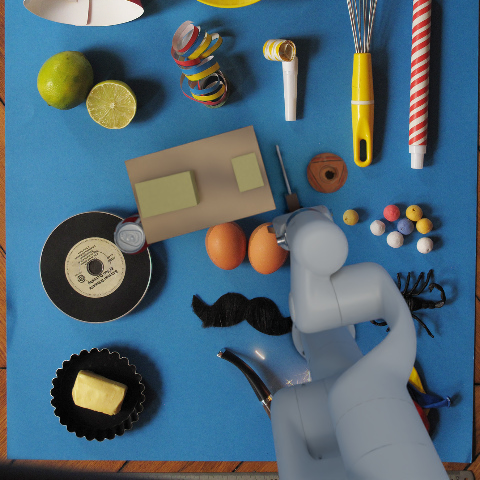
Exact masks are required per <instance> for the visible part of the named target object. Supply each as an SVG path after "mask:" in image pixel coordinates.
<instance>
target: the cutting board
mask: <svg viewBox="0 0 480 480" xmlns="http://www.w3.org/2000/svg"><path fill="white" fill-rule="evenodd" d="M253 152H255V155H256V158H257V162H258V165H259V169H260V172H261V176H262V179H263V183H264V186H262V187H258V188H254V189H251V190H247V191H244V192H240V191H239V187H238V183H237V180H236V176H235V173H234V169H233V166H232V162H231V159H232V158H236V157H239V156H243V155H246V154H250V153H253ZM124 166H125V169H126V172H127V175H128V176H127V177H128V179H129V182H130V183H129V184H130V187H131V190H132V195H133V197H134V201H135V204H136V208H137V211H138V212H139V215H140V219H141V223H142V226H143V230H144V233H145V237H146V240H147V244H151V243H152V244H154V243H158V242H161V241H165V240H169V239H171V238H173V239H174V238H176V237H179V236H183V235H187V234H192V233H194V232H198V231H201V230H205V229H210V228H213V227H216V226H220V225H223V224H226V223H230V222H234V221H237V220H242V219H245V218H249V217H252V216H256V215H260V214H263V213H266V212H270V211H273V210H276V209H277V206H276V203H275V200H274V196H273V192H272V189H271V185H270V182H269V178H268V173H267V171H266V167H265V164H264V161H263V157H262V154H261V150H260V146H259V142H258V138H257V135H256V132H255V128H254V125H253V124H251V125H248V126H247V125H246V126H244V127H240V128H236V129H233V130H229V131H225V132H222V133H219V134H215V135H212V136H209V137H204V138H200V139H198V140H195V141H190V142H187V143H184V144H183V143H182V144H179V145H177V146H173V147H169V148H165V149H162V150H159V151H155V152H152V153H148V154H144V155H140V156H137V157H134V158H129V159H127V160H124ZM191 170H193V173H194V178H195V182H196V186H197V190H198V194H199V198H200V203H199V204H198V205H197V206H193V207H189V208H184V209H180V210H176V211H172V212H167V213H163V214H159V215H155V216H151V217H146V218H143V217H142V213H141V209H140V205H139V201H138V196H137V192H136V188H135V184H137V183H141V182H145V181H149V180H153V179H157V178H162V177H166V176H170V175H174V174H178V173H182V172H187V171H191ZM138 212H137V213H138ZM152 244H151V245H152Z"/></svg>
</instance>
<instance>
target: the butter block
mask: <svg viewBox="0 0 480 480" xmlns="http://www.w3.org/2000/svg"><path fill="white" fill-rule="evenodd" d="M135 188H136V192H137V196H138V201H139V205H140V209H141V213H142V217H143V218H146V217H151V216H155V215H159V214H163V213H167V212H172V211H176V210H180V209H184V208H189V207H193V206H197V205H198V204H199V203H200V198H199V194H198V190H197V186H196V182H195V178H194V173H193V170H191V171H187V172H182V173H178V174H174V175H170V176H166V177H162V178H157V179H153V180H149V181H145V182H141V183H137V184H135Z"/></svg>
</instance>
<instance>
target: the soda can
mask: <svg viewBox="0 0 480 480" xmlns="http://www.w3.org/2000/svg"><path fill="white" fill-rule="evenodd" d="M113 240H114V243H115V246H116V247H117V249H118V250H120V251H121V252H122V253H124V254H127V255H138V254H141V253H143V252H144V251H145V250H147V249H148V248H149V247H150V246H151V245H153V243H151V244H147V240H146V237H145V233H144V230H143V226H142V223H141V219H140V215H139V212H136V213H133V214H132V215H130V216H128V217H126V218H123V219H122V220H120V221H119V222H118V224H117V225H116V227H115V229H114V232H113Z"/></svg>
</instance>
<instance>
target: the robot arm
mask: <svg viewBox="0 0 480 480" xmlns="http://www.w3.org/2000/svg"><path fill="white" fill-rule="evenodd" d="M333 217H334V213H333V210H332V208H328V207H327V206H325V205H323V204H318V205H315V206H310V207H304V205H300V209H298V210H296V211H294V212H290V211H289V210H288V209H286V210H285V214H281V215H278V216H275V217H274V218H273V219H272V221H271V222H272V224H269V225H266V229H267V233H268V234H274V235H275V239H276V243H277V246H278V247H281V248H282V249H283V250H285V251H289V257H290V258H289V259H290V260H289V261H290V291H289V293H288V309H289V311H288V312H289V314H290V319H291V321H292V326H291V337H292V342H293V345H294V346H295V349H296V350H297V351H298V352H299V354H300V355H301V356H302V357H303V358H304V359H305V360H306V364H307V368H308V371H309V375H310V378H311V380H310V381H305V382H301V383H296V384H292V385H288V386H285V387H282V388H280V389H278V390H277V391H276V392H275V393H274V394H273V396H272V397H271V401H270V410H269V412H270V424H271V431H272V438H273V445H274V452H275V459H276V467H277V473H278V480H451V478H450V477H449V474H448V473H447V470H446V468H445V466H444V464H443V461H442V460H441V458H440V456H439V453H438V452H437V449H436V447H435V444H434V443H433V440H432V439H431V437H430V435H429V432H428V430H427V428H426V426H425V423H424V422H423V419H422V417H421V415H420V413H419V411H418V409H417V407H416V405H415V403H414V401H413V399H412V396H411V394H410V393H409V390H408V387H407V385H408V382H409V380H410V377H411V374H412V372H413V370H414V369H413V368H414V365H415V361H416V356H417V345H418V344H417V343H418V342H417V341H418V339H417V332H416V331H417V330H416V326H415V323H414V319H413V317H412V313H411V310H410V308H409V305H408V304H407V301H406V299H405V298H404V296H403V295H402V293H401V291H400V289H399V288H398V286H397V284H396V283H395V281H394V279H393V278H392V276H391V275H390V273H389V272H388V270H387V269H385V267H384V266H382V265H381V264H380V263H377V262H374V261H363V262H357V263H353V264H347V265H344V264H345V263H346V260H347V258H348V255H349V241H348V239H347V236H346V233H345V232H344V231H343V230H342V228H341V227H340V226H339V225H338V224H336V223H335V221H334V219H333ZM381 319H382V320H384V322H386V324H387V326H388V328H389V330H390V331H389V332H388V334H387V335H386V336H385V338H383V340H381V341H380V342H379V343H378V344H377V345H376V346H374V347H373V348H372V349H371V350H369V351H368V352H367V353H366V354H365V355H364V354H363V352H362V350H361V348H360V347H359V345H358V343H357V341H356V329H355V325H358V324H362V323H366V322H370V321H376V320H381Z"/></svg>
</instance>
